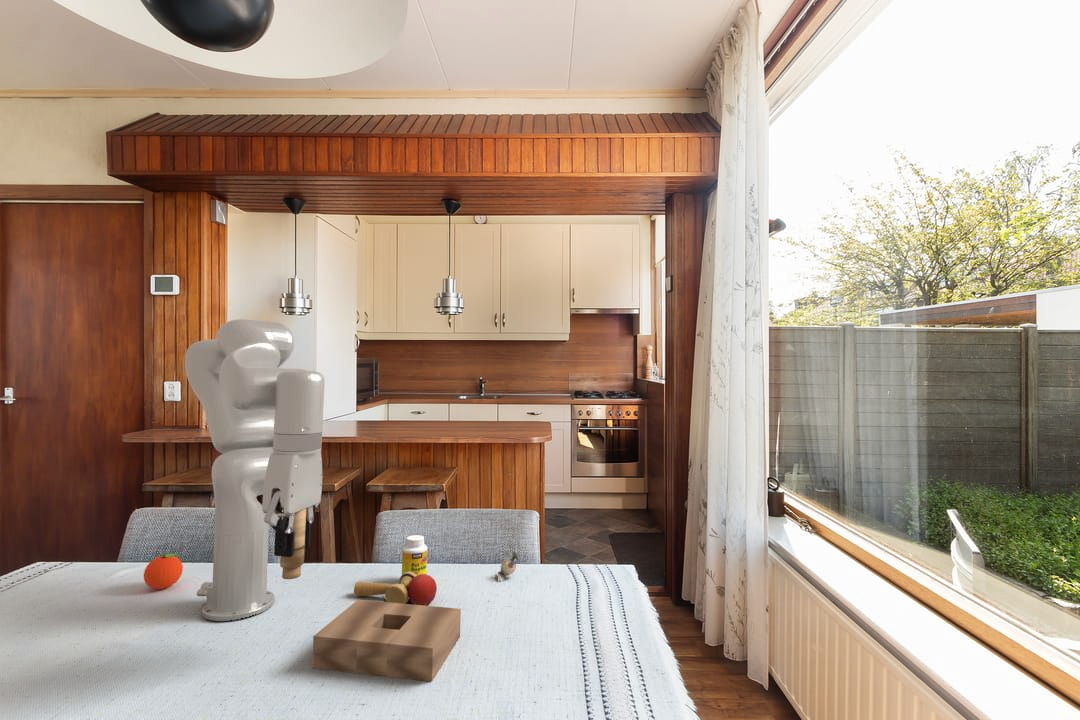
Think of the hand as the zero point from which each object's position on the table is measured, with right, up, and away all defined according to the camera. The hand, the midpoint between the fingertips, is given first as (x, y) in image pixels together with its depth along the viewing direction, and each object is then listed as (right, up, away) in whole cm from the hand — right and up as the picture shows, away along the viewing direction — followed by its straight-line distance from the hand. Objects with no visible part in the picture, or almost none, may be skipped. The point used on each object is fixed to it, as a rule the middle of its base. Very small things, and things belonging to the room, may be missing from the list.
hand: (292, 550), depth 87 cm
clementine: (-40, -18, +25) cm, 51 cm away
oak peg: (0, -4, 0) cm, 4 cm away
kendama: (+11, -19, +21) cm, 30 cm away
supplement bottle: (+13, -19, +30) cm, 38 cm away
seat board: (+17, -17, 0) cm, 24 cm away
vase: (+35, -19, +34) cm, 52 cm away
